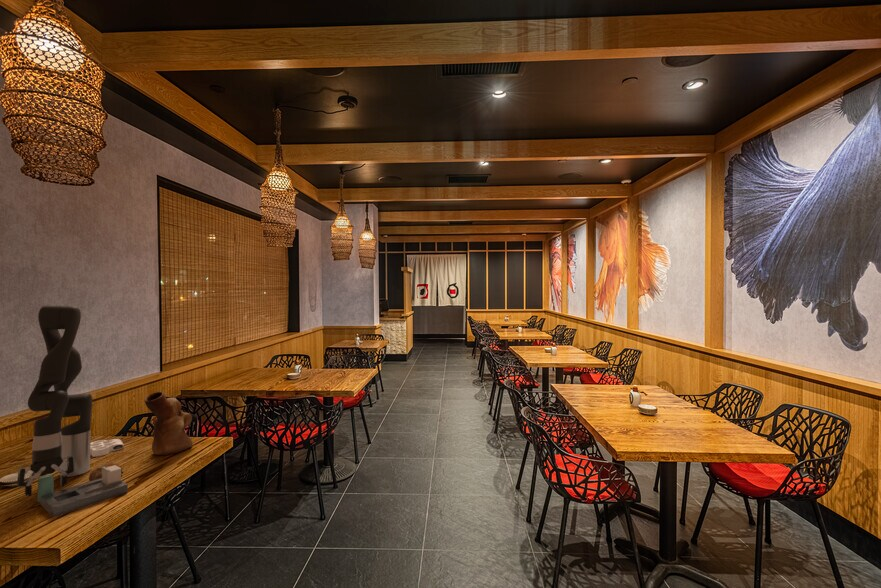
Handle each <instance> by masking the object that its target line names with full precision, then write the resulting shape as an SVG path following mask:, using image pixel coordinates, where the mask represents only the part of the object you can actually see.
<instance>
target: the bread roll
mask: <svg viewBox="0 0 881 588" xmlns="http://www.w3.org/2000/svg"><path fill="white" fill-rule="evenodd" d="M114 465H116V466H118V467H120V468H121V475H122V474H124V471H123V470H124V468H123V466H122V465H120V464H117V463H115V462H114V463H112V462H103V463H101V464H100V465H97V466H96V467H95V468H94V469H93V470H92V471H91V472H90V474H89V476H88V482H90V481H93V480H96V479H100V478H102V467H106V468H107V467H110V466H114Z"/></svg>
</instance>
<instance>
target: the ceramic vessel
mask: <svg viewBox="0 0 881 588" xmlns="http://www.w3.org/2000/svg"><path fill="white" fill-rule="evenodd" d="M143 401H144V403H145V405H146V408H147V409H148V410H149V411H150V412H151V413H152V414H153V415H154V416H155V417H156V418H155V420H154V422H153V439H152V440H153V441H152V443H151V451H152V453H154V455H156V456H166V455H167V456H168V455H171V454H177V453H180V452H182V451H185V450H187V449H189V448H192V447H193V445H194V443H193V440H192V438H191V437H190V436H189V435H188V434H187V433H186V432H185V430H184V429H185V428H186V427H188V426H189V425H190V424H191V423H192V420H193V416H192V414H191V413H188V412H184V411H183V410H182V403H181V402H180V401H179V400H178V399H177V397H176V396H175V394H171V397H166V395H165V393H164V392H162V391H156V392H152V393H150V394H148V395H147V396H145V397H144V399H143Z"/></svg>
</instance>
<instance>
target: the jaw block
mask: <svg viewBox="0 0 881 588" xmlns="http://www.w3.org/2000/svg"><path fill="white" fill-rule="evenodd" d="M121 468H122V467H121ZM121 468H120V467H118V466H116V465H114V466H110V467H107V468H106V467H102V482H103V483H104V484H106V485H107V484H110V483H114V482H117V481H120V480H122V474H121Z"/></svg>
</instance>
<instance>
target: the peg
mask: <svg viewBox="0 0 881 588" xmlns="http://www.w3.org/2000/svg"><path fill="white" fill-rule="evenodd" d="M54 480H55V478H54V474H46V475H44V476H39V477H38V478H37V502H38V503H41V496H43V495H46V494H50V493H53V492H54V482H55V481H54Z"/></svg>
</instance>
